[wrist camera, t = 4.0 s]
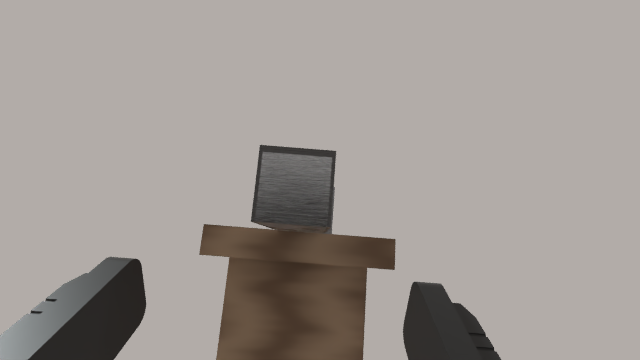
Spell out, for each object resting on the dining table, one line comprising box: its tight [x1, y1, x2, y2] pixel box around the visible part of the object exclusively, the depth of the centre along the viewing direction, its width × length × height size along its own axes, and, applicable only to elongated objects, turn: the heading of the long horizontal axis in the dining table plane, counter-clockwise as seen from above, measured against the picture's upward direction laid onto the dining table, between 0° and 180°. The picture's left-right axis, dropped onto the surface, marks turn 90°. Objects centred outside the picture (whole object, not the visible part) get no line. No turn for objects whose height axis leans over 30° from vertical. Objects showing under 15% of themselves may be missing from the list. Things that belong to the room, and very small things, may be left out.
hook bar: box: [251, 145, 336, 234], centre depth 24 cm, size 5×21×4 cm, turn 1°
